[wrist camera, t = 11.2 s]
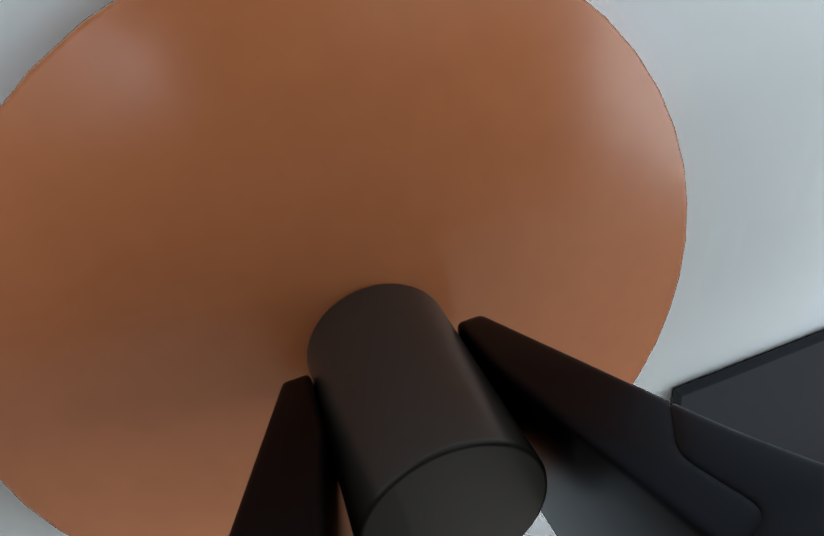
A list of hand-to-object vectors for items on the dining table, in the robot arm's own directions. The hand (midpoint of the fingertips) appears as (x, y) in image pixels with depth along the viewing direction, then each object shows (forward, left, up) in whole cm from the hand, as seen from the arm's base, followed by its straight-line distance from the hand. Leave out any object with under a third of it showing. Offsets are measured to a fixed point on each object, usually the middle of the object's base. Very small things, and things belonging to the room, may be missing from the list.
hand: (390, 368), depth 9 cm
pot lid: (0, 0, -1) cm, 1 cm away
